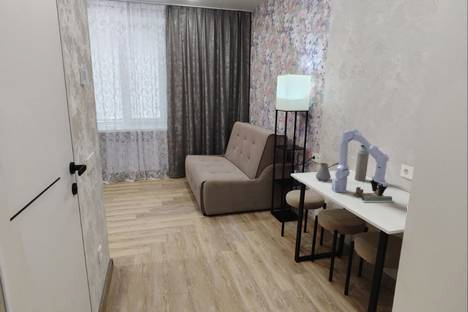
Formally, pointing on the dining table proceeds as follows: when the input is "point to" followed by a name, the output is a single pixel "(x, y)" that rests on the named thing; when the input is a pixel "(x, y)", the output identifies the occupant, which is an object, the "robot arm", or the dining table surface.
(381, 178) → the robot arm
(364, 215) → the dining table surface
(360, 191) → the rack
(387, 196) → the rail
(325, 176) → the coffee pot
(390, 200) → the pad
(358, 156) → the thermos bottle
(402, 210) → the dining table surface
